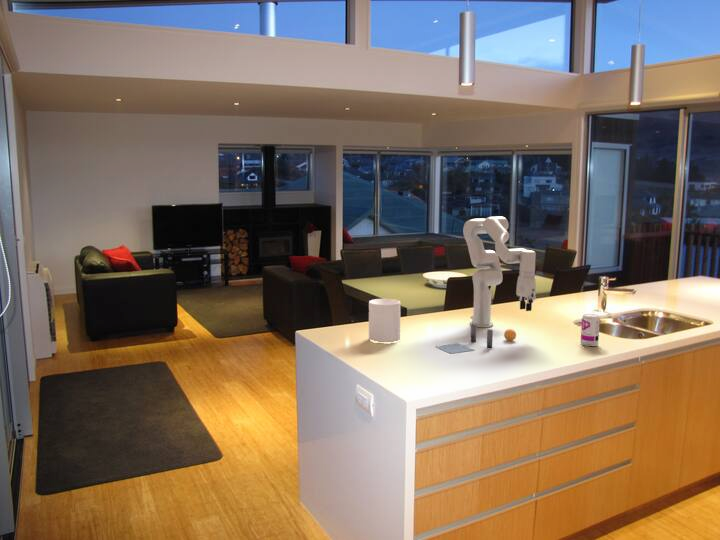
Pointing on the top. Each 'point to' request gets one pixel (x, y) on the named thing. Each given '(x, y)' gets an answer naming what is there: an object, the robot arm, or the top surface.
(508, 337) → the ball
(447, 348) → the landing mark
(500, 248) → the robot arm
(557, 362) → the top surface
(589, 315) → the supplement can
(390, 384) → the top surface
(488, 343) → the post
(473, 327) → the post
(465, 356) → the top surface
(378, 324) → the canister
